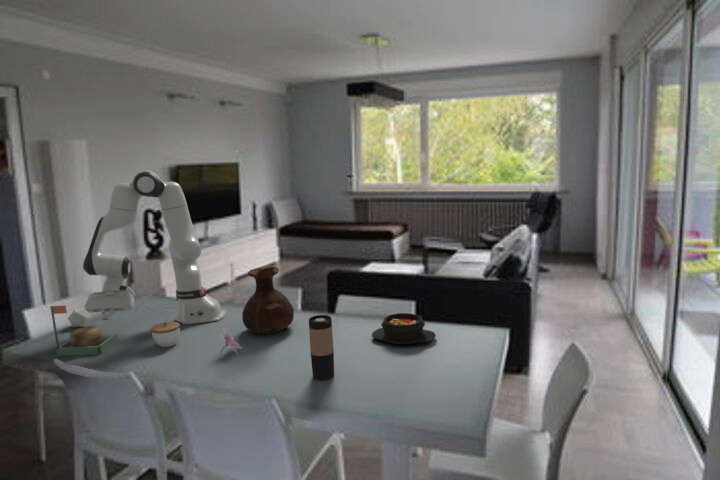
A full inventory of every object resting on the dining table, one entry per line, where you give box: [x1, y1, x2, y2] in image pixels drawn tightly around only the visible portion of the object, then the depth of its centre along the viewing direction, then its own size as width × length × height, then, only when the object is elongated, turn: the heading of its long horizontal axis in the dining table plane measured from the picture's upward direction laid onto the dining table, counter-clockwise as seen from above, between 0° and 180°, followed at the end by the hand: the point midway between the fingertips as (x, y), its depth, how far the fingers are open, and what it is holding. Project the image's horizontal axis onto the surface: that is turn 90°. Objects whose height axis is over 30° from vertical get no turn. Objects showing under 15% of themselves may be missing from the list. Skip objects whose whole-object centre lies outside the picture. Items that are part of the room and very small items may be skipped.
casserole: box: [371, 312, 437, 345], centre depth 197 cm, size 25×19×8 cm
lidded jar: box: [150, 321, 181, 348], centre depth 203 cm, size 11×11×9 cm
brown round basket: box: [69, 325, 104, 347], centre depth 203 cm, size 11×11×8 cm
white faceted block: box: [67, 308, 92, 328], centre depth 231 cm, size 8×9×10 cm
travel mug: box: [308, 314, 335, 382], centre depth 166 cm, size 8×8×20 cm
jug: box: [241, 265, 295, 335], centre depth 212 cm, size 22×22×30 cm
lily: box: [219, 327, 242, 355], centre depth 191 cm, size 11×11×9 cm
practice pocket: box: [49, 305, 119, 357], centre depth 202 cm, size 17×14×20 cm
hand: (105, 319), depth 217 cm, fingers closed
